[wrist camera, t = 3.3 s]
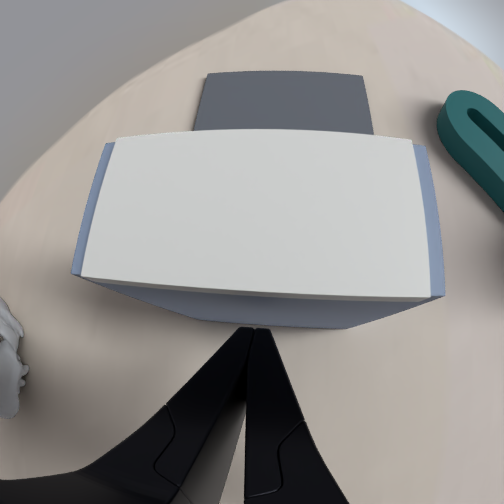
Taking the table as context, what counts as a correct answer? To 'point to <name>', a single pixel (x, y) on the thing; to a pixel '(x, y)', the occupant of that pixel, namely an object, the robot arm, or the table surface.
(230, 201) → the book block
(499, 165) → the bracket
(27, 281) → the table surface
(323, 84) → the mat
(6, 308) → the skull
